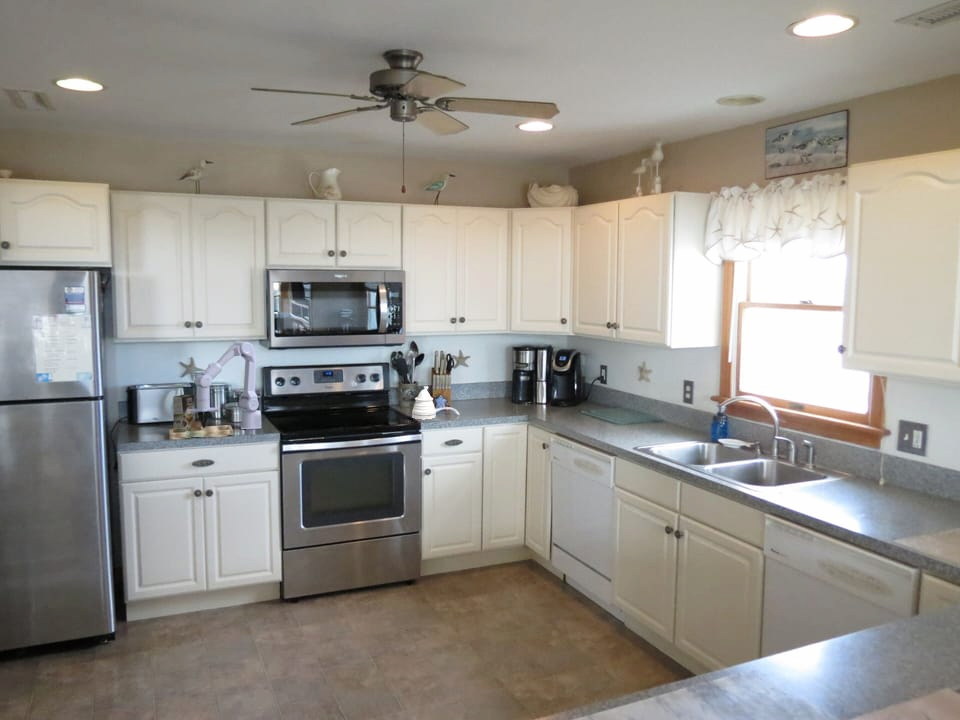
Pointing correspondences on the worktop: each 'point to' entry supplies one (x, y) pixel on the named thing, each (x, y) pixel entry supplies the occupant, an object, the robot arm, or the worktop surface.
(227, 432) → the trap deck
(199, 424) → the walnut block
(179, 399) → the coffee box
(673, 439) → the worktop surface
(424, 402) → the honey pot
